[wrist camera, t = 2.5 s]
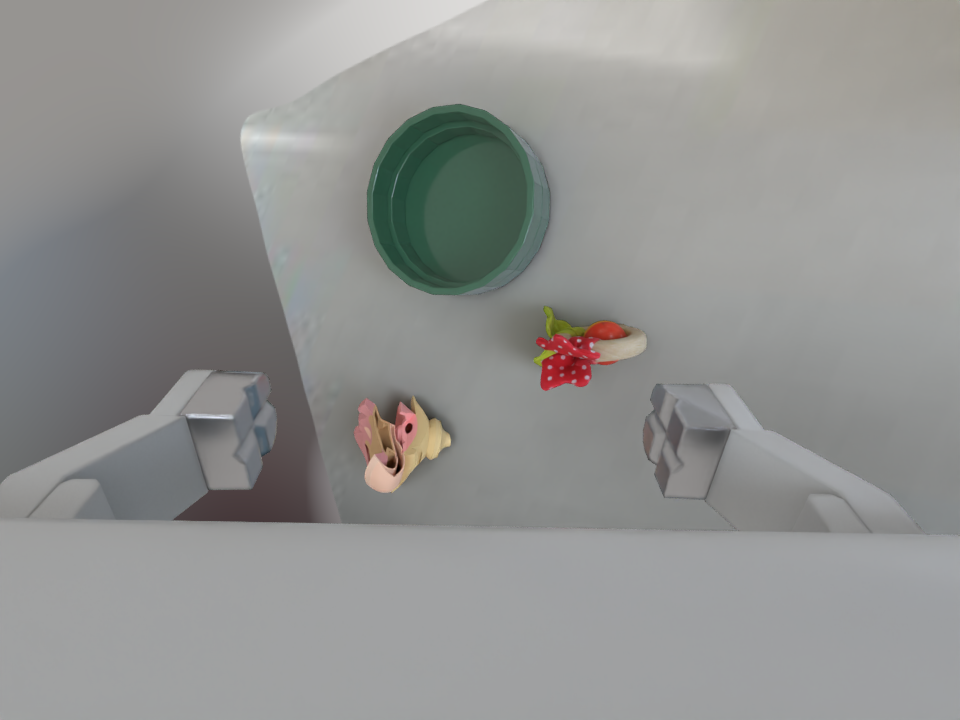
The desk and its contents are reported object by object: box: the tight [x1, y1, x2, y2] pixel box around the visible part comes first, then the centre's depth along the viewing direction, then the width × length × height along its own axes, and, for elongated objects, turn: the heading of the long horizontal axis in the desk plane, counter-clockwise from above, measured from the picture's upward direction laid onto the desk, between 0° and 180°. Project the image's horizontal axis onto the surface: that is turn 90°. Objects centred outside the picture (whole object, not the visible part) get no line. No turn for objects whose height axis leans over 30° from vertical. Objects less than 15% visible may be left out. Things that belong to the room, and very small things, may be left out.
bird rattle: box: [534, 306, 647, 391], centre depth 42 cm, size 6×11×9 cm
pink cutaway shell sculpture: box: [354, 396, 451, 493], centre depth 52 cm, size 9×10×10 cm
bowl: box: [367, 104, 550, 295], centre depth 47 cm, size 15×15×6 cm
